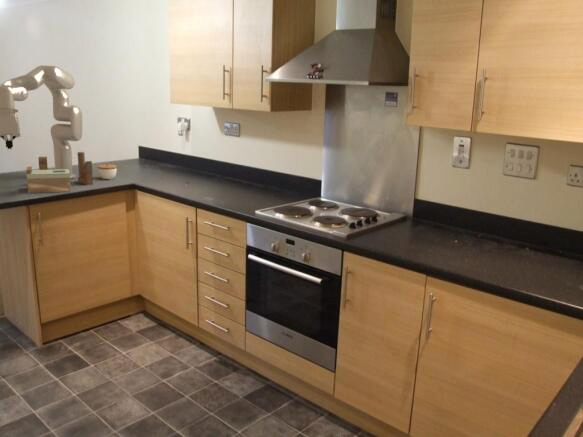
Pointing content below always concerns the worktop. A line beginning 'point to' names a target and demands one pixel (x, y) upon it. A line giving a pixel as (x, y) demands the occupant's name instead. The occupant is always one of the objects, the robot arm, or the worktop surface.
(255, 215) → the worktop surface
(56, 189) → the base
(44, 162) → the key peg
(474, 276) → the worktop surface
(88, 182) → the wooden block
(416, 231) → the worktop surface
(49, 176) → the toolbox lid
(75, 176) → the robot arm
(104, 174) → the lidded jar
